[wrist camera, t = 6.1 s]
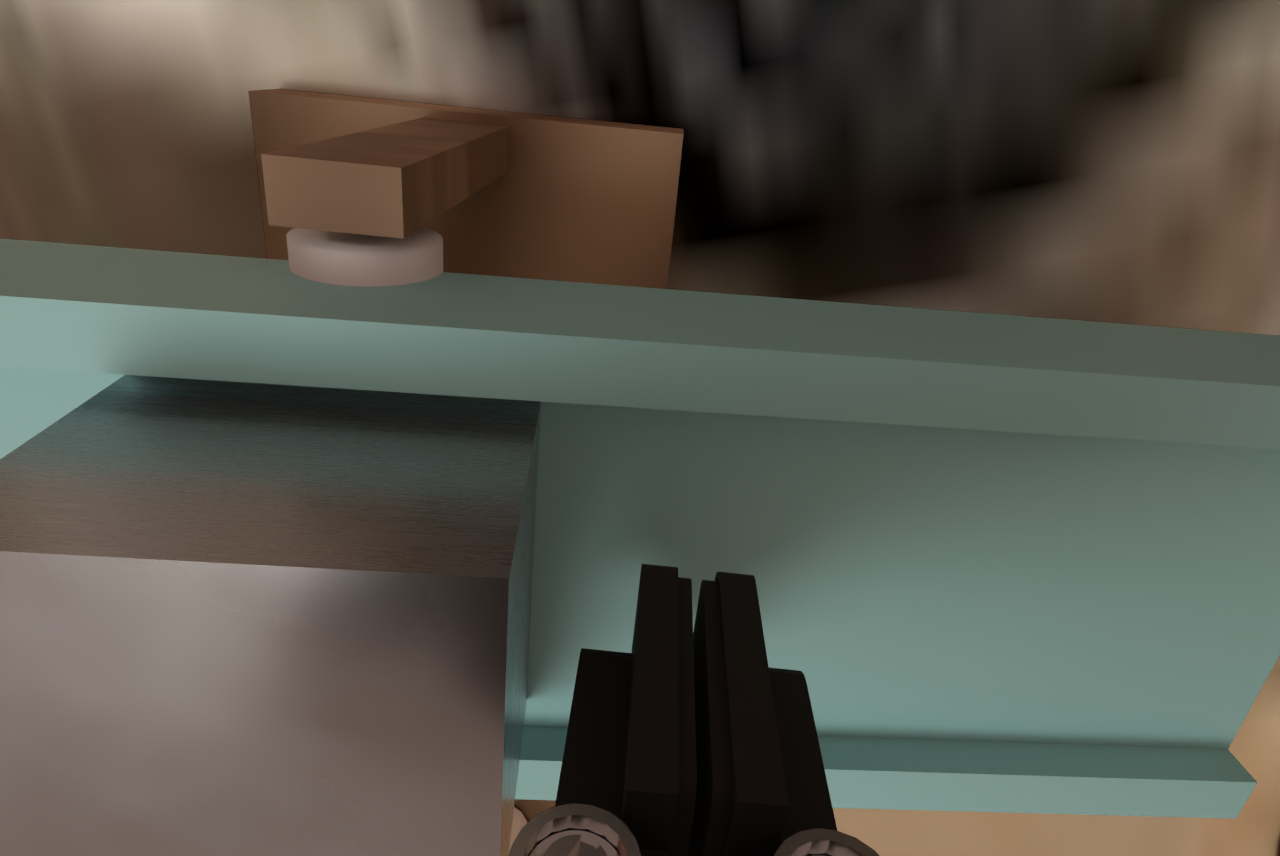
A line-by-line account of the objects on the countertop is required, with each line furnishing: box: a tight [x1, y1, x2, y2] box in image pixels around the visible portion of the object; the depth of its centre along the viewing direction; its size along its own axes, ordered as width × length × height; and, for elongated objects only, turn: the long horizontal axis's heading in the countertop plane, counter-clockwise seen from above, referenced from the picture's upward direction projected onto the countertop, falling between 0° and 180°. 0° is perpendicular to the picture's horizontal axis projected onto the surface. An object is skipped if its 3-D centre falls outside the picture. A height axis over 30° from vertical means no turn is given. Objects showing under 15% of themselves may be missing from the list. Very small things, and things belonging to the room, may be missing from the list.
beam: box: [0, 227, 1280, 819], centre depth 14 cm, size 34×10×5 cm, turn 85°
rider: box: [0, 375, 541, 856], centre depth 11 cm, size 6×6×4 cm
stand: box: [249, 89, 684, 289], centre depth 18 cm, size 10×13×9 cm
